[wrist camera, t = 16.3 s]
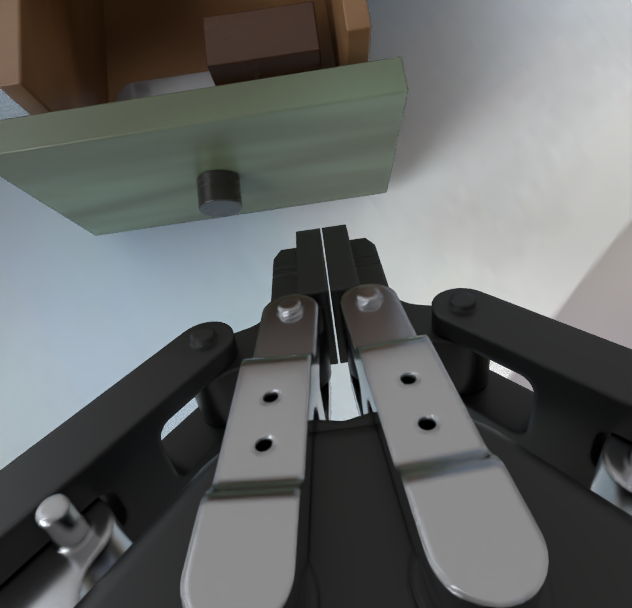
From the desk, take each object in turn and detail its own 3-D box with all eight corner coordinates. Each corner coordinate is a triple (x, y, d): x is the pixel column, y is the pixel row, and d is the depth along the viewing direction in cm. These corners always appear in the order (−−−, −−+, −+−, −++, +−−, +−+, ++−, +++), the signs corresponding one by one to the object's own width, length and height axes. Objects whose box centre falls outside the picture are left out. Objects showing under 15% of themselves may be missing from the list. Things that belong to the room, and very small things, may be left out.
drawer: (391, 218, 21) (416, 127, 14) (96, 261, 21) (-31, 195, 14) (344, -58, 23) (344, -254, 16) (84, -14, 24) (-28, -187, 17)
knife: (317, 54, 21) (313, -1, 18) (323, 97, 21) (320, 49, 18) (118, 83, 22) (82, 35, 19) (119, 127, 21) (83, 84, 18)
